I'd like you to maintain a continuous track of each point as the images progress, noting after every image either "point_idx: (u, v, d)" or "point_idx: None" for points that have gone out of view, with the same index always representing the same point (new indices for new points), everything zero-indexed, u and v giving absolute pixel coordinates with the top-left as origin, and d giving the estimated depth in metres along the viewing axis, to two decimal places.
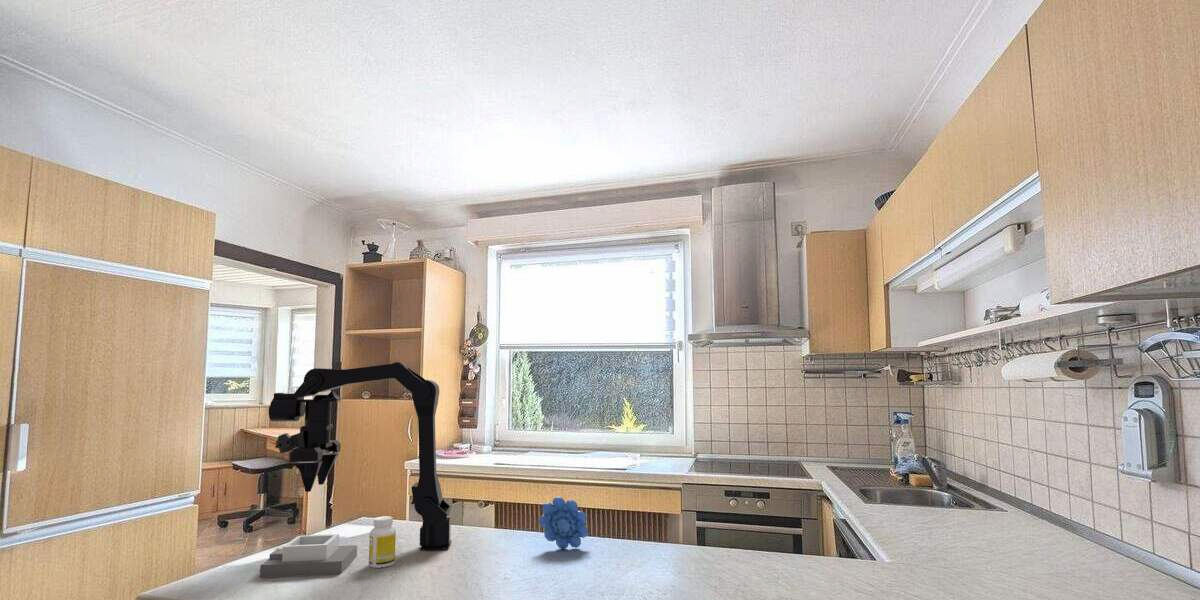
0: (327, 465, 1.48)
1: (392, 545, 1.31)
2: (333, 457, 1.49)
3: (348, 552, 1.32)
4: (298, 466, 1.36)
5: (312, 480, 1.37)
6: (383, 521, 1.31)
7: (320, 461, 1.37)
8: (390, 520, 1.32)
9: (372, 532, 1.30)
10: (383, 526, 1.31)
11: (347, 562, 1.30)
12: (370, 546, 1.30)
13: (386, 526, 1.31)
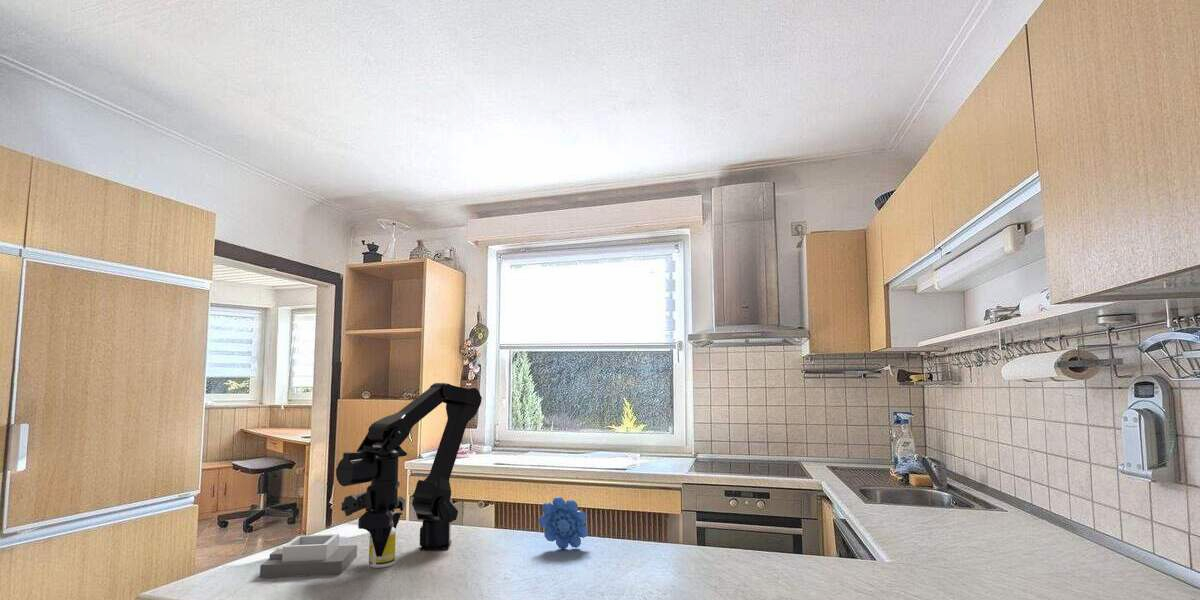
0: None
1: (392, 545, 1.31)
2: (397, 518, 1.36)
3: (348, 552, 1.32)
4: (369, 530, 1.27)
5: (384, 544, 1.28)
6: None
7: (392, 524, 1.28)
8: None
9: None
10: None
11: (347, 562, 1.30)
12: (370, 546, 1.30)
13: None
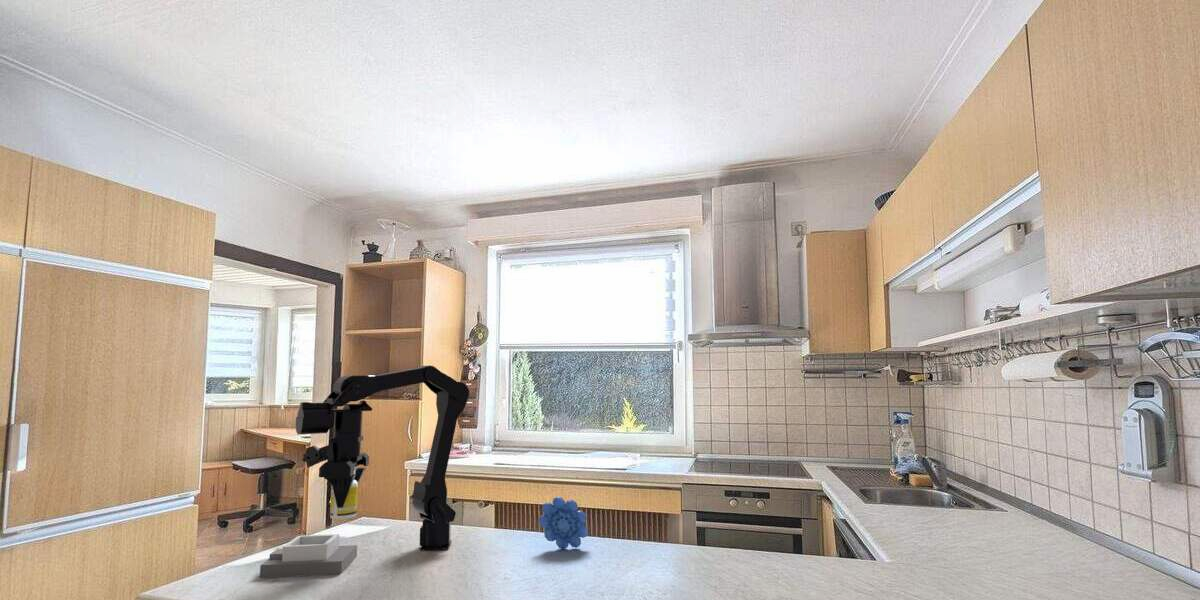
0: None
1: (353, 497, 1.31)
2: (360, 472, 1.36)
3: (348, 552, 1.32)
4: (330, 480, 1.28)
5: (345, 495, 1.29)
6: None
7: (354, 475, 1.29)
8: None
9: None
10: None
11: (347, 562, 1.30)
12: (331, 498, 1.30)
13: None
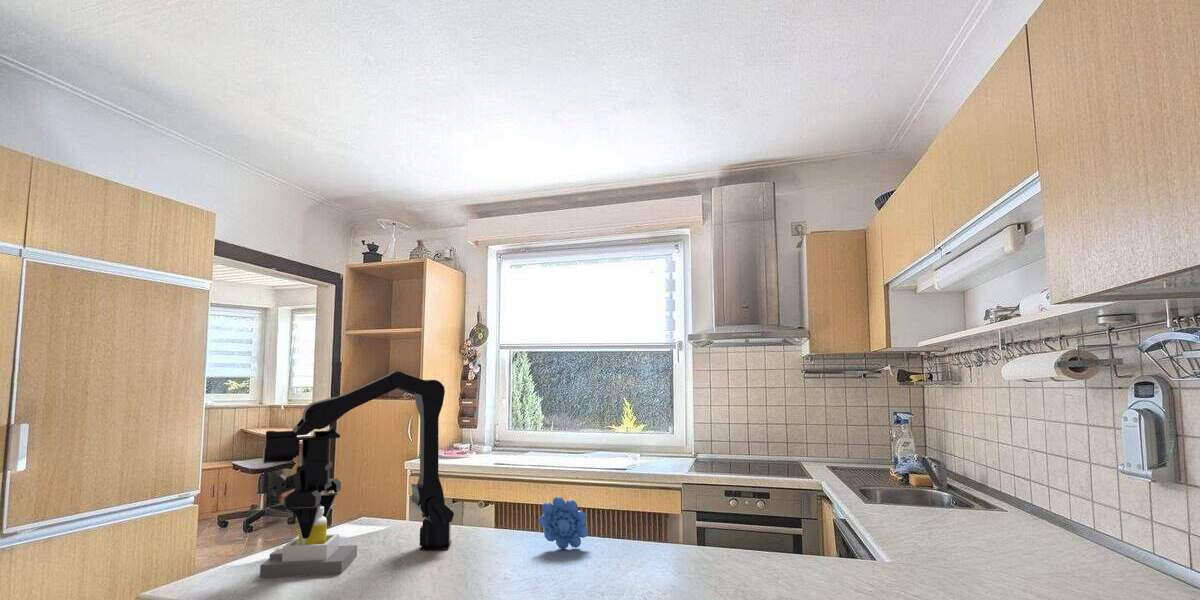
0: (325, 507, 1.36)
1: (322, 535, 1.30)
2: (332, 498, 1.37)
3: (348, 552, 1.32)
4: (295, 511, 1.25)
5: (310, 526, 1.27)
6: None
7: (319, 505, 1.26)
8: (320, 510, 1.31)
9: None
10: None
11: (347, 562, 1.30)
12: (299, 536, 1.30)
13: None
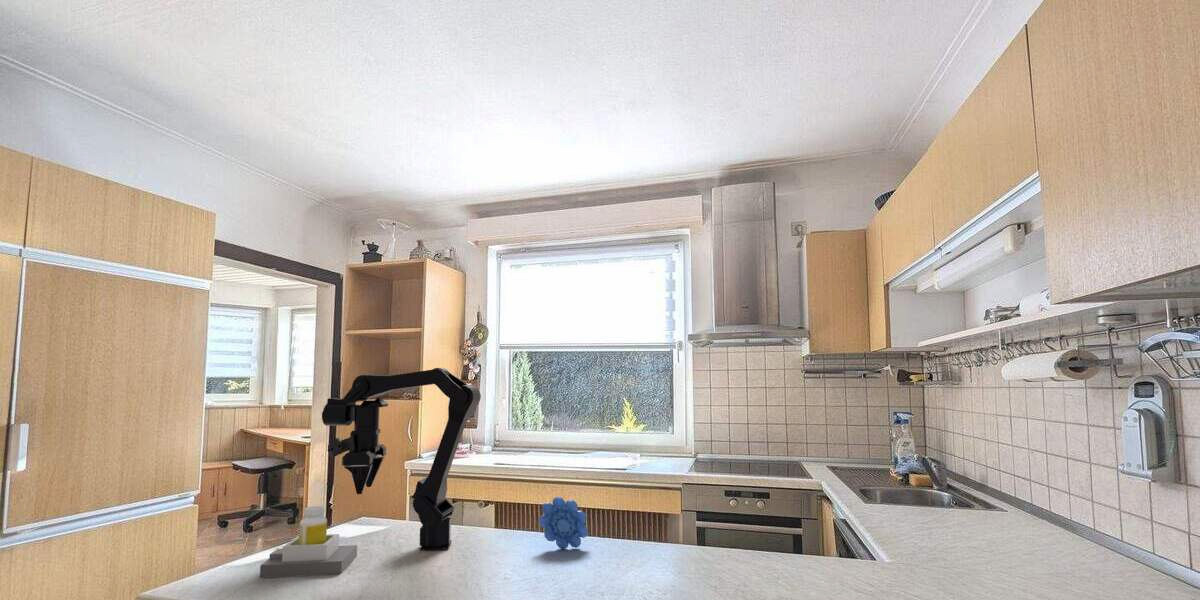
0: (374, 469, 1.53)
1: (322, 535, 1.30)
2: (380, 460, 1.54)
3: (348, 552, 1.32)
4: (350, 469, 1.41)
5: (363, 483, 1.43)
6: (313, 511, 1.30)
7: (371, 465, 1.42)
8: (321, 510, 1.31)
9: (302, 522, 1.30)
10: (313, 516, 1.30)
11: (347, 562, 1.30)
12: (300, 536, 1.30)
13: (316, 516, 1.30)
